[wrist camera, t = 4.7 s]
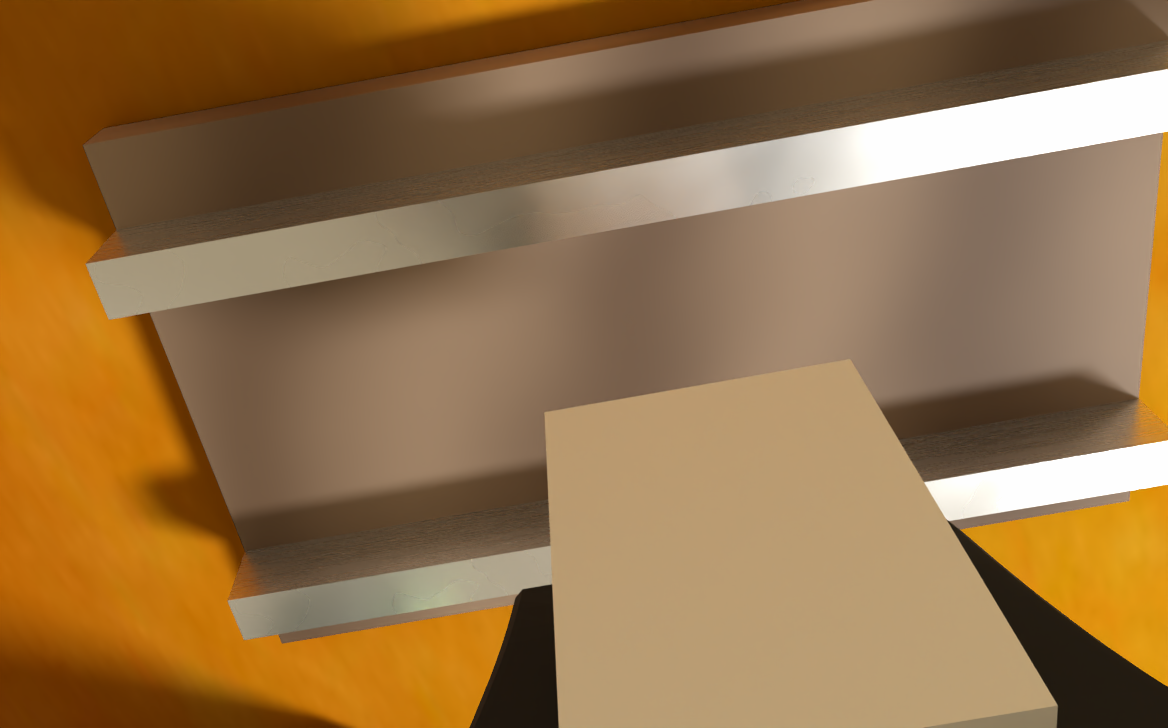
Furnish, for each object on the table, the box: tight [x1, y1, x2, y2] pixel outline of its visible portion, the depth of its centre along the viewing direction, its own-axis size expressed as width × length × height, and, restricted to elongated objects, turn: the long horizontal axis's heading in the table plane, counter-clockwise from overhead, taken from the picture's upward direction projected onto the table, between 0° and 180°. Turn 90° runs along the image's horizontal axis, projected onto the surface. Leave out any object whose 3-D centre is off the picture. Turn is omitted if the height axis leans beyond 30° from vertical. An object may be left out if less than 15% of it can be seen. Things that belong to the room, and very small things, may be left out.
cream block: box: [544, 359, 1058, 728], centre depth 12 cm, size 4×4×6 cm
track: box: [83, 0, 1168, 643], centre depth 20 cm, size 18×11×2 cm, turn 99°
